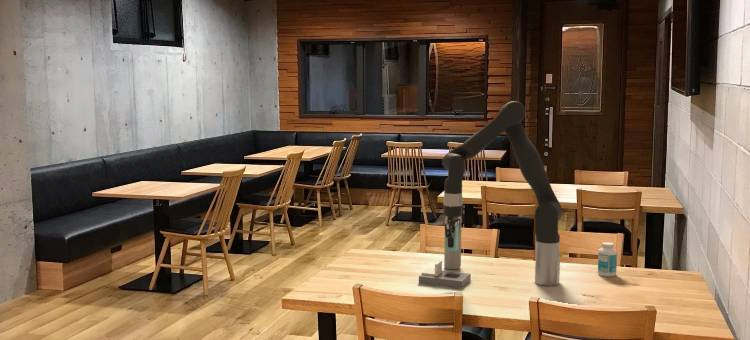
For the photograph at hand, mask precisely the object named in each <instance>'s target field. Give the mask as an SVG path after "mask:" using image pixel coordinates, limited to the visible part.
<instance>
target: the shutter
mask: <svg viewBox="0 0 750 340" xmlns="http://www.w3.org/2000/svg"><path fill="white" fill-rule="evenodd" d="M442 271H443V261H442V260H439V261H437V262H435V264H434V269H433V268H426V269H425V270H423V271H422V272H421V274H422V275H429V276H438V275H439V274H440V273H442Z"/></svg>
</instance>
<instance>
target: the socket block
mask: <svg viewBox="0 0 750 340" xmlns="http://www.w3.org/2000/svg"><path fill="white" fill-rule="evenodd" d="M470 282H471V273H468V272H458V271H450V270H442V273H440V274H439V275H438V276H429V275H422V273H421V274H419V276H418V284H419V285H428V286H437V287H446V288H451V289H452V288H453V289H460V290H461V289H463V288H465V287H466V285H467V284H468V283H470Z"/></svg>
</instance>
